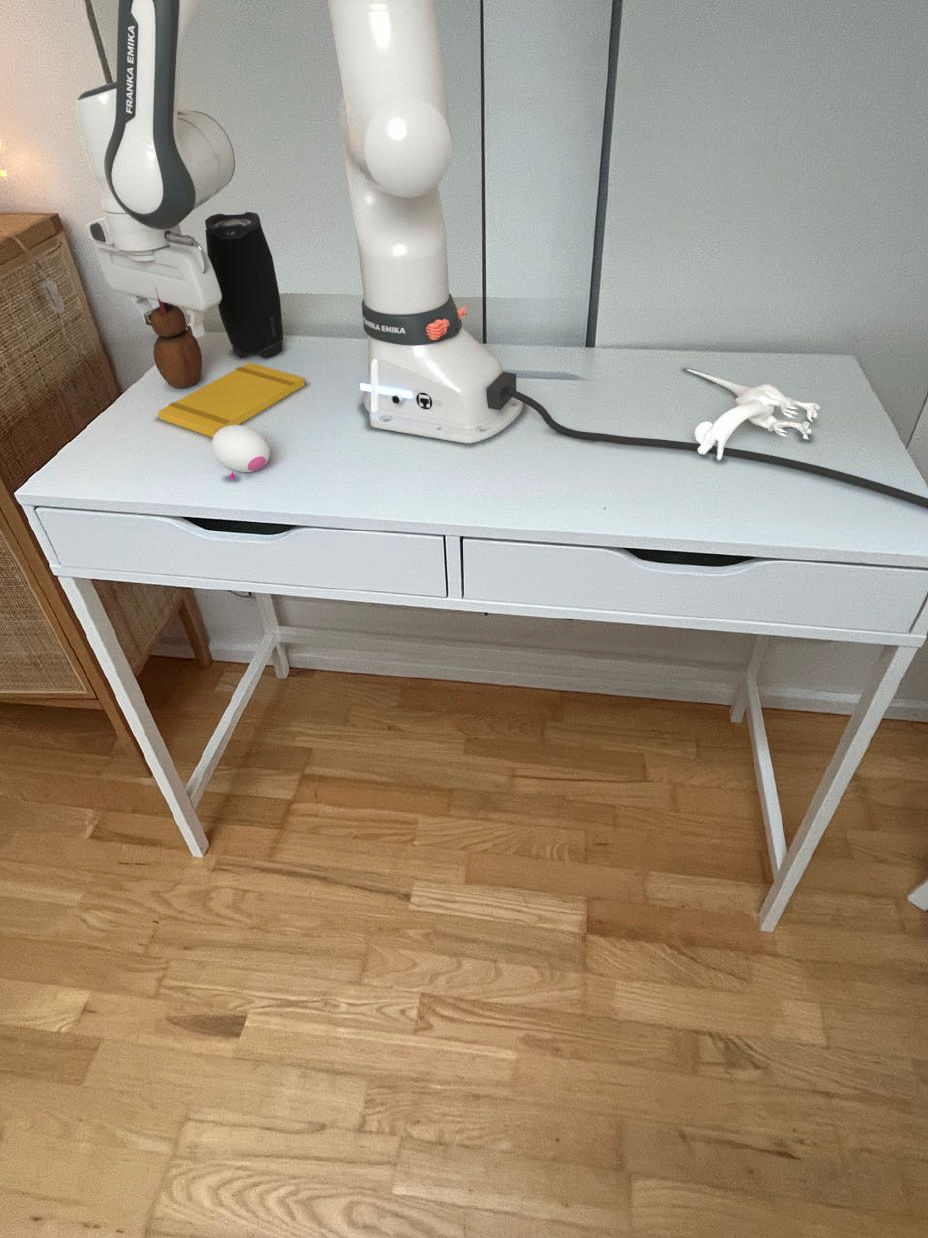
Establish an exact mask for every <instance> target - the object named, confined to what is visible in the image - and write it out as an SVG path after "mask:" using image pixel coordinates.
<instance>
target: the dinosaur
mask: <svg viewBox="0 0 928 1238" xmlns="http://www.w3.org/2000/svg"><path fill="white" fill-rule="evenodd" d="M685 370H686V371H688V372H689V373H692V374H695V375H697V376H699V377H702V378H704V379H706V380H709V381H711V382H713V383H715V384H717V385H719V386H721V387H724V388H725V389H728V390H729V391H730V392H732V393H733V394H734V395H735V396H737V397H736V398H735V404H736V406H735V407H732V408H731V409H729V410H727V411H725V412H724V413H722V414H721V415H720V416H719V417H718V418H717V420H715V421H714V422H713V423H712V422H710V421H704V422H701V423H699V424H698V425H697V426H696V428H695V430H694V436H695V441H696V442H697V443H698V444H701V445H700V446H699V447H698V449H697V450H698V451H697V452H698V454H699V455H703V456H705V455H706V454H708V453H707V451H708V450H709V448H710V449H711V447H712V446H716V445H715V444H716V442H717V446H718V447H717V451H718V454H716V457H715V458H716V460H717V461H721V460H722V459H723V456H724V455H723V450H724V447H725V446H726V443H727V442H728V440H729V437H730V436H731V435H732V433H733V432H734V431H735V430H736V429H737V428H738V426H739V425H741V424H742V423H743V422H745V421H746V420H748V421H749V422H751V423H752V424H753V425H755V426H758V427H761V428H763V429H766V430H767V431H768V432H771V433H772V432H775V433H776V434H777V435H779V436H780V437H781V438H783V437H788V435H787V434H785V433H787V431H786V430H785V429H783V428H793V429H796V430H798V431H799V433H800V434H801V435H802V439H804V440H809V436H808V435H811V434H812V428H809V426H810V422H812V423H814V421H813V419H818V410H821V408H820V405H819V404H818V403H816V402H801V401H799V400H794V399H793V398H792V397H786V396H785V395H784V394H783V393H782V392H781V391H780V390H779V389H777V388H776V387H775V386H774V385H771V384H769V383H764V384H761V385H758V386H752V387H749V386H745V385H741V384H737V383H735V382H731V381H728V380H725V379H722V378H720V377H717V376H713V375H710V374H706V373H703V372H700V371H697V370H693V369H689V368H687V369H685ZM796 406H797V407H796ZM775 407H777V408H780V410H781V413H782V414H783V416H786V417H787V418H788V419H795V416H793V415H798V413H797V412H796V411H794V410H799V407H800V408H802V409H804V410H805V411H806V417H807V419H808V420H809V421H803V422H802V423H801V422H800V423H799V422H793V421H786V420H783V419H777V418H776V417H775V416H774V415H772V414H773V413H774V412H775ZM812 418H813V419H812ZM710 446H711V447H710ZM707 449H708V450H707Z"/></svg>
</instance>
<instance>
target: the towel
mask: <svg viewBox="0 0 928 1238" xmlns="http://www.w3.org/2000/svg"><path fill="white" fill-rule="evenodd" d="M304 378H305V377H302V376H300V375H299V376H298V375H295V374H292V373H288V372H285V371H281V370H278V369H275V368H271V367H267V366H263V365H259V364H256V363H252V362H247V363H246V364H244V365H242V366H238V367H236V368H234V370H232V371H231V372H229V373H227V374H225V375H223V376H221V377H219V378H218V379H215V380H214V381H212V382H210V383H208V384H206V385H204V386H202V387H200V388H199V389H197V390H195V391H193V392H192V393H189V394H187V395H186V396H184V397H182V398H180V399H178V400H176V401H173V402H171V403H169V404H168V405H167V406H166V407H164V408H162V409H160V410H158V411H157V414H158V418H159V420H161V421H163V422H166V423H169V424H173V425H174V426H175V425H176V426H177V427H182V428H184V429H188V430H190V431H192V432H196V433H199V434H202V435H204V436H207V437H210V438H213V437H214V435H215V433H216V432H217V431H218V430H220V429H221V428H223V427H225V426H229V425H242V423H244V422H246V421H248V420H249V419H251V418H253V417H254V416H256V415H257V414H259V413H261V412H262V411H264V410H266V409H268V408H269V407H271V406H273V405H274V404H276V403H277V402H279V401H281V400H283V399H284V398H286V397H288V396H289V395H291V394H293V393H294V392H297V391H298V390H299V389H301V388H303V387H304V386H306V383H305V379H304Z"/></svg>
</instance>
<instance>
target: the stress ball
mask: <svg viewBox="0 0 928 1238" xmlns="http://www.w3.org/2000/svg"><path fill="white" fill-rule="evenodd" d="M269 444H270V443H269V442H268V438H265V436H264V435H262V433H260V432H259V431H258V430H256V429H254V428H252V427H249V426H247V425H243V424H239V425H229V426H225V427H223V428H221V429H220V430H218V431H217V432H216V433H215V435H214V437H212V440H211V450H212V453H213V455H214V456H215V459H217V461H218V462H220V464H221V465H223V466H225V468H228V469H230V470H232V472H231V474H229V476H228V478H229V479H232V480H234V481H235V480H236V479H235V476H234V471H236V472H239V473H251V472H256V471H258V470H260V469H262V468H263V467H265V466H266V465H267V463H268V462H269V460H270V457H271V447H270V445H269Z"/></svg>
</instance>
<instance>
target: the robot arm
mask: <svg viewBox="0 0 928 1238" xmlns="http://www.w3.org/2000/svg"><path fill="white" fill-rule="evenodd" d="M210 2H211V0H118V12H117V40H116V41H117V43H116V44H117V45H116V46H117V47H116V81H112V82H110V83H106V84H103V85H100V86H97V87H95V88H92V89H90V90H86V91H84V92H83V93H81V94H80V95H79V97H78V98H77V100H76V103H75V113H76V123H77V127H78V133H79V136H80V140H81V144H82V148H83V151H84V154H85V158H86V161H87V165H88V167H89V170H90V173H91V175H92V176H93V179H95V181H96V183H97V185H98V188H99V191H100V197H101V198H100V200H101V208H102V211H103V214H104V216H103V217H100V218H97V219H95V220H92V221H90V222H88V223H87V224H86V225H85V229H86V232H87V236H88V237H89V239H90V240H91V241H93V242H94V246H93V247H94V252H95V255H96V259H97V262H98V265H99V268H100V270H101V273H102V275H103V278H104V280H105V281H106V284H107V285H108V286H109V287H110V289H112V290H113V291H114V292H119V293H122V294H127V295H129V297H130V301H131V302H132V305H134V306H135V309H137V311H138V313H140V315H141V318H142V322H143V324H144V325H146V326H149V327H150V326H151V327H152V324H151V314H152V311H153V310H154V308H153V306H152V304H151V302H150V301H149V300H152V301H157V302H159V301H158V298H159V299H160V301H161V302H164V303H168V305H174V306H177V307H180V308H185V311H186V314H187V315H188V316H189V318H190V319H189V323H186V330H188V334H189V336H192V337H195V338H196V339H199V338H202V337H204V336H205V335H206V330H205V326H204V321H205V315H206V312H207V311H209V310H211V309H214V308H216V307H218V305H219V304H220V302H221V299H222V294H221V290H220V287H219V284H218V281H217V278H216V275H215V272H214V269H213V267H212V264H211V261H210V259H209V257H208V254H207V251H205V249H204V247H203V246H202V245H201V244H200V243H199V242H198V241H197V240H196V239H195V237H194V236H191V235H189V234H183V232H182V229H181V226H180V225H181V222H183V221H184V220H185V219H186V218H187V217H188V216H189V215H190V214H191V213H192V212H193V211H194V210H196V209H197V208H199V207H200V206H202V205H204V204H205V203H206V202H208V201H209V200H210V199H211V198H213V197H215V196H216V195H218V194H219V193H220V192H221V191H223V189H225V188H226V186H228V185H229V184H230V182H231V181H232V179H233V177H234V173H235V169H236V159H235V157H236V156H235V152H234V148H233V145H232V142H231V140H230V138H229V136H228V134H227V132H226V131H225V130H224V128H223V126H222V125H220V123H218V122H217V121H216V120H215V119H214V118H213V117H211V116H210V115H208V114H206V113H204V112H202V111H197V110H189V109H185V108H183V107H179V95H180V79H181V77H180V76H181V62H182V55H183V48H184V46H185V42H186V40H187V37H188V34H189V32H190V30H191V28H192V26H193V25H194V23H195V22H196V20H197V19H198V17H199V15H200V14H201V13H202V11H203V10H204V9H205V8H206V6H207V5H208V4H209V3H210ZM327 8H328V13H329V18H330V23H331V28H332V33H333V39H334V45H335V50H336V56H337V57H336V58H337V62H338V69H339V74H340V80H341V88H342V94H341V98H340V103H339V107H338V121H339V122H338V123H339V130H340V135H341V136H340V138H341V145H342V151H343V158H344V167H345V171H346V179H347V184H348V185H347V186H348V191H349V198H350V204H351V210H352V217H353V223H354V228H355V229H354V230H355V234H356V243H357V248H358V249H357V251H358V258H359V259H358V260H359V268H360V276H361V277H360V278H361V285H362V293H363V299H362V301H361V303H360V304H361V314H362V315H361V319H362V326H363V331H364V332H365V334H366V335H367V378H366V379H367V380H366V383H360V384H359V387H360V391H365V394H364V398H363V399H364V400H363V405H364V408H365V409H366V411H367V413H368V414H369V426H370V427H372V428H373V429H378V430H383V431H384V430H385V431H391V432H397V433H402V434H408V435H414V436H419V437H426V438H431V439H437V440H443V441H449V442H456V443H460V444H461V443H462V444H474V443H478V442H481V441H484V440H488V439H489V438H491V437H494V436H496V435H497V434H499V433H501V432H502V431H504V429H507V427H509V426H510V425H511V424H513V422H514V421H515V420H516V419H517V418H518V417H519V416H520V414H521V413H522V411H523V408H524V404H525V405H527V406H529V407H531V408H532V409H533V410H535V411H536V412H537V413H538V414H539V415H540V416H541V418H542V419H543V421H544V422H545V424H547V425H548V427H550V428H551V429H552V430H554V431H555V432H557V433H560V434H561V435H564V436H567V437H570V438H573V439H578V440H586V441H596V442H606V443H612V444H620V445H629V446H630V445H631V446H640V447H641V446H642V447H643V446H644V447H654V448H665V449H675V450H683V451H689V452H698V450H697V449H698V447H699V446H700V445H701V444H700V443H698V442H696V443H695V442H690V441H689V442H688V441H678V440H670V439H661V438H648V437H637V436H636V437H635V436H624V435H616V434H609V433H602V432H589V431H580V430H574V429H571V428H569V427H566V426H564V425H562V424H560V423H558V422H556V421H555V419H554V418H553V417H552V416H551V414H550V413H549V411H547V409H546V408H545V407H544V406H543V405H542V404H541V403H539V402H537V401H536V400H535V399H534V398H532V397H531V396H528V395H526V394H523V393H522V392H520V391H517V373H513V372H508V371H504V368H503V367H502V364H501V362H500V361H499V360H498V359H497V358H496V357H495V356H494V355H493V354H491V353H490V352H489V351H488V350H487V349H486V348H485V346H483V345H482V344H481V343H480V342H479V341H478V340H477V339H476V338H475V337H473V336H472V334H470V333H469V332H468V330H466V328H464V327H463V321H462V318H464V317H465V316H467V315H468V314H469V313H468V312H467V309H468V305H464V306H463V307H461V308H459V309H457V305H456V303H455V301H454V299H453V296H452V294H451V293H450V287H449V266H448V265H449V264H448V248H447V247H448V245H447V230H446V225H445V220H444V215H443V208H442V203H441V197H440V189H439V184H440V182H441V181H442V180H443V179H444V177H445V176H446V174H447V171H448V169H449V166H450V163H451V159H452V154H453V139H452V131H451V123H450V115H449V114H450V113H449V105H448V96H447V87H446V80H445V78H446V77H445V72H444V63H443V57H442V56H443V55H442V49H441V43H440V36H439V31H438V25H437V18H436V10H435V9H436V8H435V2H434V0H327ZM155 286H156V287H155ZM156 290H157V292H156ZM157 294H158V297H157ZM710 447H711V446H710ZM717 447H718V445H712V447H711V449H710V448H709V450H708V449H707V450H708V451H707V453H706V454H712V455H713V454H714V455H718V451H717ZM722 456H727V457H733V458H739V459H746V460H751V461H756V462H760V463H761V462H762V463H767V464H772V465H776V466H779V467H780V466H781V467H785V468H790V469H794V470H799V471H801V472H802V471H803V472H807V473H812V474H815V475H819V476H822V477H826V478H831V479H833V480H837V481H841V482H844V483H847V484H852V485H855V486H858V487H862V488H866V489H868V490H872V491H876V492H878V493H881V494H884V495H887V496H891V497H893V498H896V499H899V500H903V501H906V502H909V503H913V504H915V505H918V506H921V507H924V508H928V497H925V496H921V495H919V494H915V493H913V492H910V491H906V490H903V489H900V488H897V487H894V486H890V485H887V484H884V483H882V482H877V481H874V480H871V479H867V478H864V477H861V476H857V475H854V474H850V473H846V472H843V471H839V470H835V469H832V468H828V467H824V466H820V465H816V464H812V463H808V462H804V461H799V460H796V459H790V458H786V457H781V456H776V455H772V454H767V453H761V452H755V451H750V450H745V449H737V448H733V447H732V448H731V447H725V446H724V450H723V455H722Z"/></svg>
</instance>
